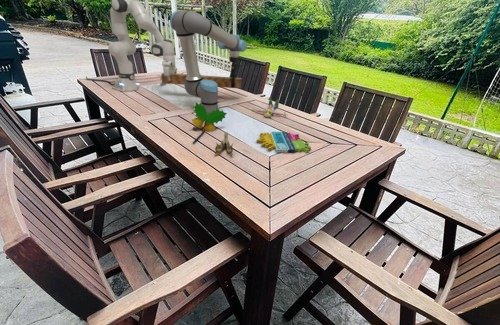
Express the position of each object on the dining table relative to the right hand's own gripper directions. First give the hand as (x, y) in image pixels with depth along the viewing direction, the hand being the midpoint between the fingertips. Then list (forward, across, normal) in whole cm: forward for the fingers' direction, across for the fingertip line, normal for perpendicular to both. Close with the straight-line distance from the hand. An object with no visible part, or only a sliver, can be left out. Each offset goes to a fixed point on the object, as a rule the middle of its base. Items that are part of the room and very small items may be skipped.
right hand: (233, 86), depth 215 cm
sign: (+12, +78, +37) cm, 88 cm away
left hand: (-2, 0, -52) cm, 52 cm away
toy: (+12, +23, +32) cm, 41 cm away
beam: (+1, 0, -26) cm, 26 cm away
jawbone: (+12, +95, +6) cm, 96 cm away
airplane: (+12, -51, -69) cm, 87 cm away
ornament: (+12, +65, -8) cm, 67 cm away
